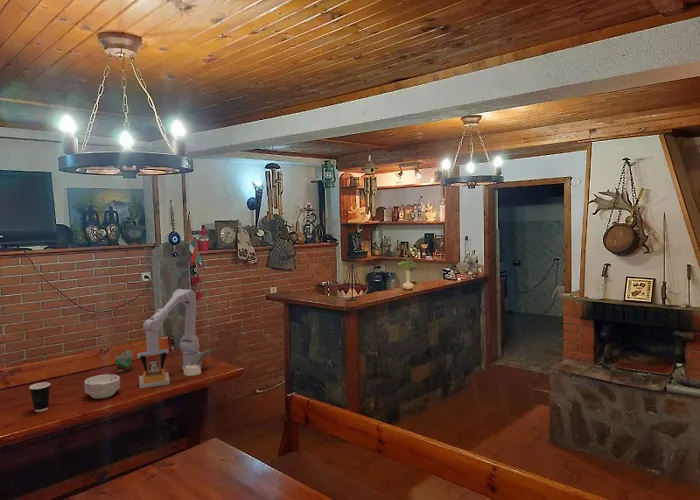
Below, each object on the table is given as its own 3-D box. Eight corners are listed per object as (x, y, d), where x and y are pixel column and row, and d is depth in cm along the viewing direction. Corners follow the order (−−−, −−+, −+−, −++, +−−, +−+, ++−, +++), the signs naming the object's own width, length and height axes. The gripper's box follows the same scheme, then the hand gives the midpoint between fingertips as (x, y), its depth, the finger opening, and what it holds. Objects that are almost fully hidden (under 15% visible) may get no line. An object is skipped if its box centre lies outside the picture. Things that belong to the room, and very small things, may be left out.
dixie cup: (48, 404, 228) (47, 381, 228) (54, 409, 223) (52, 385, 222) (28, 410, 223) (26, 385, 222) (34, 414, 217) (32, 389, 216)
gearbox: (168, 375, 266) (167, 367, 266) (170, 384, 253) (169, 375, 253) (139, 379, 260) (138, 371, 260) (139, 388, 248) (139, 379, 247)
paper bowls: (127, 390, 245) (126, 374, 244) (104, 402, 230) (103, 385, 230) (101, 388, 249) (100, 372, 248) (77, 399, 234) (76, 382, 234)
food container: (127, 373, 270) (126, 355, 269) (116, 374, 270) (115, 355, 270) (137, 366, 283) (136, 349, 282) (126, 366, 283) (125, 349, 282)
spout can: (157, 376, 260) (157, 360, 259) (160, 379, 254) (159, 364, 253) (148, 377, 257) (148, 362, 257) (151, 381, 252) (150, 365, 251)
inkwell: (179, 374, 268) (178, 355, 267) (205, 365, 284) (204, 347, 283) (191, 377, 263) (190, 358, 263) (217, 367, 279) (216, 349, 278)
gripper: (165, 339, 262) (167, 364, 263) (135, 343, 255) (137, 369, 256) (168, 342, 256) (170, 368, 257) (138, 346, 249) (139, 373, 250)
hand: (153, 369), depth 256 cm, fingers open, 7 cm apart
